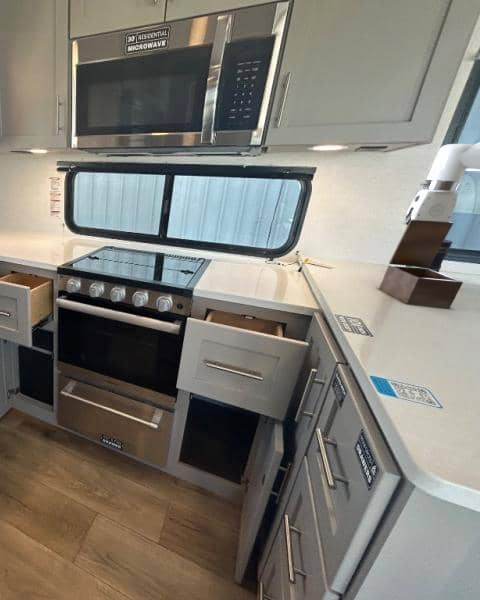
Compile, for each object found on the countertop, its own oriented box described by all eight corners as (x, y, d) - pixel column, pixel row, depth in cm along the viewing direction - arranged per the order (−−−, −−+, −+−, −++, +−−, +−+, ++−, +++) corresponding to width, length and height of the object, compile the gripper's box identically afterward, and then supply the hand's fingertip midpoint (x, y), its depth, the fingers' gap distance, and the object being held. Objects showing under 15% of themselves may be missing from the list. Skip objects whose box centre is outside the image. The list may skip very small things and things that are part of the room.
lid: (453, 222, 105) (452, 222, 105) (411, 220, 107) (410, 219, 107) (428, 267, 112) (427, 266, 112) (389, 264, 114) (388, 263, 115)
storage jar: (404, 275, 134) (420, 239, 128) (401, 270, 141) (416, 235, 136) (438, 281, 129) (456, 243, 123) (433, 275, 136) (450, 239, 130)
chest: (449, 308, 103) (463, 282, 99) (406, 304, 105) (418, 278, 101) (416, 292, 116) (427, 268, 112) (378, 288, 118) (388, 265, 114)
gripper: (421, 186, 102) (396, 244, 110) (478, 189, 100) (449, 248, 107) (404, 185, 109) (383, 239, 116) (458, 187, 106) (432, 243, 113)
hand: (415, 243), depth 111 cm, fingers closed
